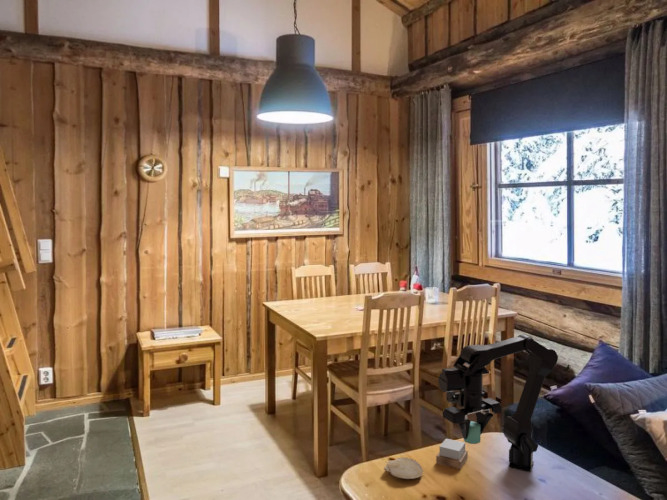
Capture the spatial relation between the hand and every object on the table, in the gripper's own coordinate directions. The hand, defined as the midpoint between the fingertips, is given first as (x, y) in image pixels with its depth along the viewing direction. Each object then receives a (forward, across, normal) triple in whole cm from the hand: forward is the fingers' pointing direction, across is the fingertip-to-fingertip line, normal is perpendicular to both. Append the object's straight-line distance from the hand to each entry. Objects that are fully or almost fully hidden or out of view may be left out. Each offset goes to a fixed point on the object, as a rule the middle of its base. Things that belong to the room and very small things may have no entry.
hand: (471, 436), depth 165 cm
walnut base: (+12, 0, -9) cm, 16 cm away
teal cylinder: (+1, 0, 0) cm, 1 cm away
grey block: (+10, 0, -9) cm, 13 cm away
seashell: (+12, +19, -10) cm, 24 cm away
